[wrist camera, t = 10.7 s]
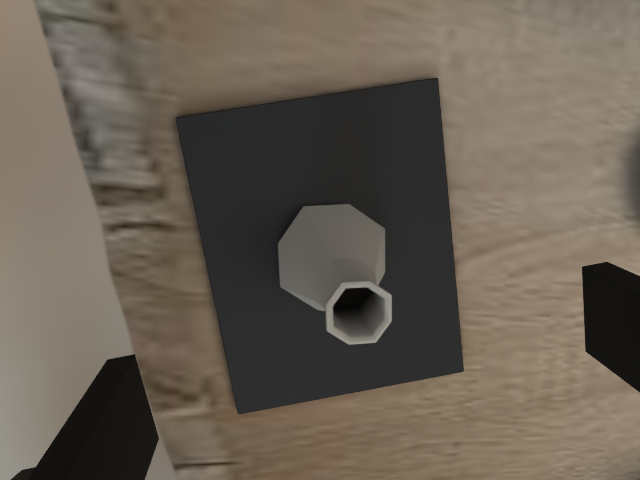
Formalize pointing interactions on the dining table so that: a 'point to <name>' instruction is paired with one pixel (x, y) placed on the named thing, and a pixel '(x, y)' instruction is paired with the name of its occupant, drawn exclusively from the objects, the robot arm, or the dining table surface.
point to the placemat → (313, 190)
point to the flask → (338, 270)
